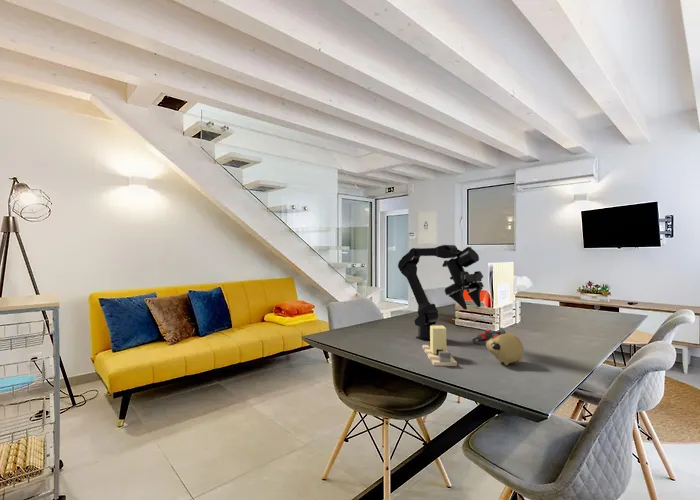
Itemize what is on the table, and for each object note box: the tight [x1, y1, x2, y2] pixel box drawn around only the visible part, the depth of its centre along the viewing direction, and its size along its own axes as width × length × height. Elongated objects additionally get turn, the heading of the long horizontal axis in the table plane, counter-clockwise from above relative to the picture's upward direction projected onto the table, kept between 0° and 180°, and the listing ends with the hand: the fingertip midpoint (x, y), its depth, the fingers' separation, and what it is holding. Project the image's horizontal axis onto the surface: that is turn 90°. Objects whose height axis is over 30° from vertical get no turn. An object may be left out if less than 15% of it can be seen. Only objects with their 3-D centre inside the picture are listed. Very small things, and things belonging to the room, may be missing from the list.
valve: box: [471, 327, 506, 345], centre depth 144 cm, size 6×26×15 cm
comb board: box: [422, 341, 458, 367], centre depth 129 cm, size 22×8×4 cm, turn 178°
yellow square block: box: [429, 325, 447, 354], centre depth 129 cm, size 5×5×10 cm
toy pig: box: [485, 332, 525, 366], centre depth 121 cm, size 10×12×11 cm
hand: (472, 307), depth 136 cm, fingers open, 9 cm apart
